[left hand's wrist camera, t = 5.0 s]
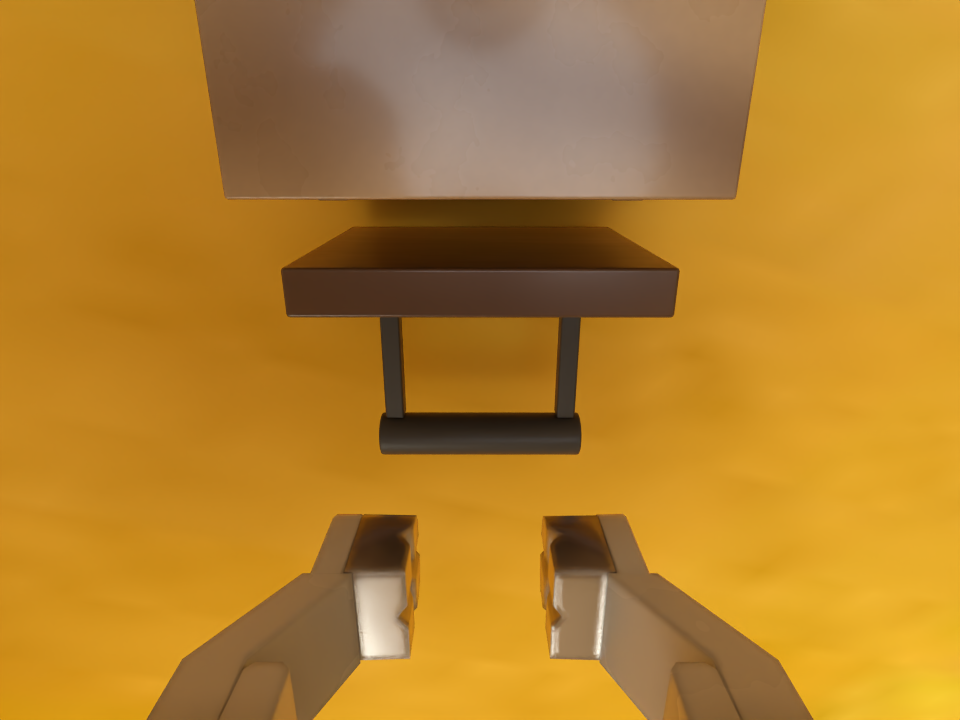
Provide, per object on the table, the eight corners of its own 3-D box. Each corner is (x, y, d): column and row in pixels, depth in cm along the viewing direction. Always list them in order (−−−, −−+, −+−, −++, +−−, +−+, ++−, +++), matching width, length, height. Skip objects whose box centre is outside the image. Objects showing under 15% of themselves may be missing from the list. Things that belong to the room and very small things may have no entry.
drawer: (594, 406, 23) (648, 525, 15) (365, 406, 23) (311, 525, 15) (641, -181, 16) (772, -451, 9) (319, -181, 16) (189, -451, 9)
